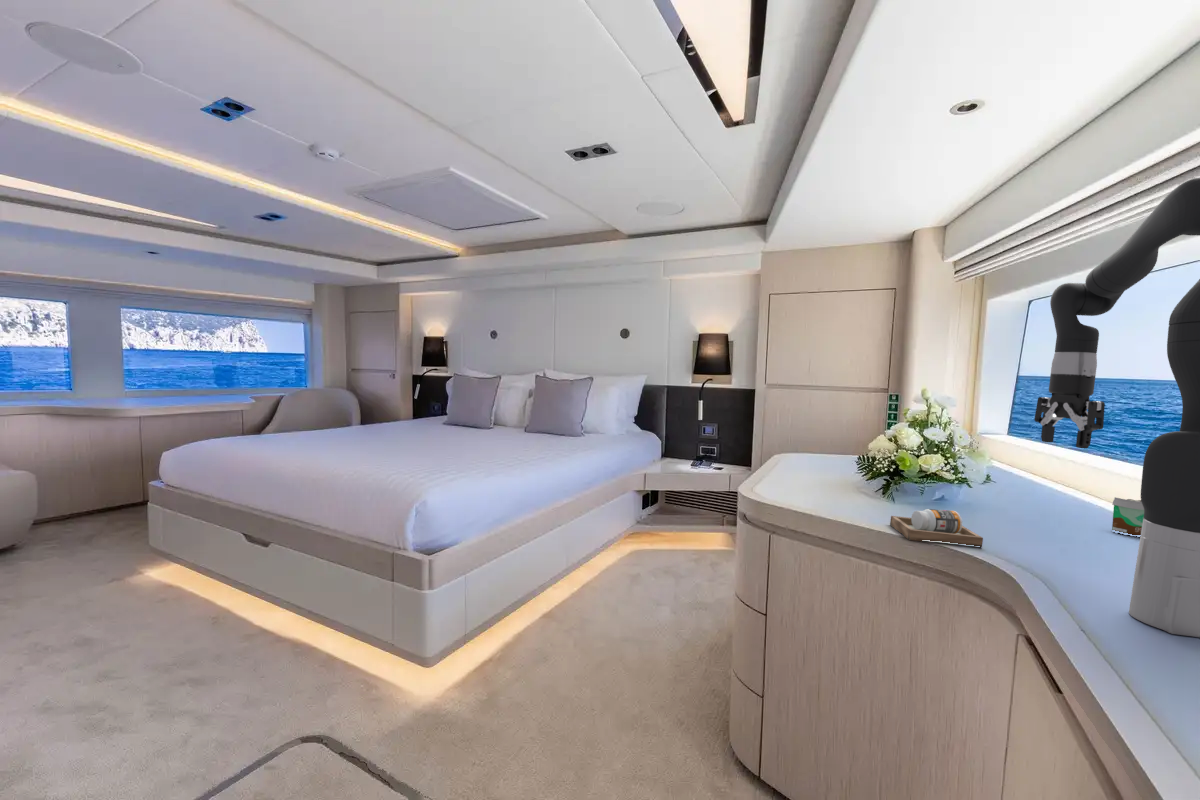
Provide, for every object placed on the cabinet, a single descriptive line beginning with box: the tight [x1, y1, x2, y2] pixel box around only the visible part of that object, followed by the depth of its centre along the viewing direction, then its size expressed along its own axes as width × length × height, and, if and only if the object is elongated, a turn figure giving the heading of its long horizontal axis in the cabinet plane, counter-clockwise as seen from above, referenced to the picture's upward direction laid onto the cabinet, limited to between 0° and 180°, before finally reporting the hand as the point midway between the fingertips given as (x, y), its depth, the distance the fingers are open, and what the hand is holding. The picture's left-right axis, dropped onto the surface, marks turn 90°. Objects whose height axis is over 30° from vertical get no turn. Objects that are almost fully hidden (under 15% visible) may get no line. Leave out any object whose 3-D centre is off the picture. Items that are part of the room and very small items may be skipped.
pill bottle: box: [910, 508, 963, 534], centre depth 132 cm, size 6×6×10 cm
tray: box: [889, 515, 984, 548], centre depth 131 cm, size 12×16×2 cm
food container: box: [1111, 497, 1144, 535], centre depth 144 cm, size 12×6×10 cm, turn 105°
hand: (1064, 445), depth 118 cm, fingers open, 8 cm apart
